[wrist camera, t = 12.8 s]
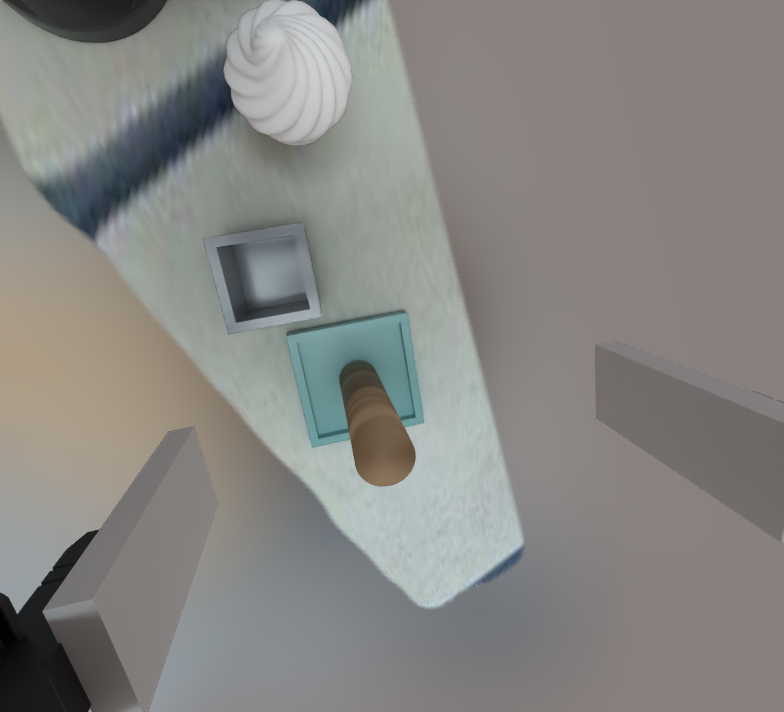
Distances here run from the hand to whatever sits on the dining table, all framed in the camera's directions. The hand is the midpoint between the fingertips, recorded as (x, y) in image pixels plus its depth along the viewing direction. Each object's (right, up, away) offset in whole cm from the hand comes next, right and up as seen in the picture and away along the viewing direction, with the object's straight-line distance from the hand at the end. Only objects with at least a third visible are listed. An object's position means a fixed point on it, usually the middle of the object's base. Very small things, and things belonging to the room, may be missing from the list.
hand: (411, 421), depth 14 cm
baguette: (-4, 0, +32) cm, 32 cm away
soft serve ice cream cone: (-9, +23, +26) cm, 36 cm away
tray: (-4, 0, +33) cm, 33 cm away
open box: (-12, +10, +29) cm, 33 cm away
